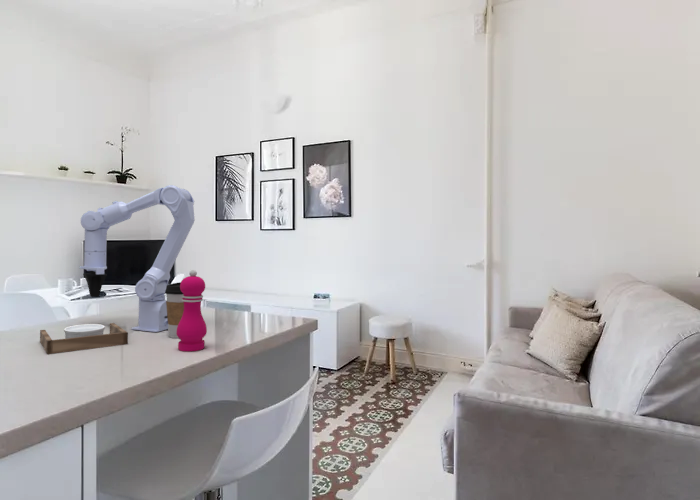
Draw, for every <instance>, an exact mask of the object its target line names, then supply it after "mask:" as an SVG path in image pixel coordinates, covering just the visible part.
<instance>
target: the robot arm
mask: <svg viewBox="0 0 700 500" xmlns="http://www.w3.org/2000/svg"><path fill="white" fill-rule="evenodd" d="M157 205H161V206H165V207H166V208H167V209H168V210H169V211H170V214H171V216H172V218H173V219H174V220H173V223H172V225H171V227H170V229H169V231H168V234H167V236H166V237H165V240H164V241H163V243H162V245H161V247H160V249H159V252H158V254H157V256H156V258H155V259H154V261H153V264H152V266H151V267H150V269H148V270H147V271H146V272H145V273H144V276H143V277H142V278H141V279H140V280H138V282H136V284H135V286H134V293H135V294H136V296H137V297H138V323H137V324H138V325H137V326H133V327H131V330H134V331H142V332H143V331H144V332H151V333H158V332H162V331H165V330H168V318H167V306H166V301H167V299H166V296H165V294H166V293H165V290H166V287H167V285H169V280H170V279H171V274H170V272H171V270H172V268H173V266H174V265H175V262H176V260H177V257H178V256H179V255H180V251H182V247H183V246H184V243H185V242H186V239H187V238H188V236H189V234H190V231H191V230H192V227H193V225H194V223H195V220H196V219H195V208H194V207H195V206H194V205H195V200H194V198H193V195H192V194H191V192H190V191H189V190H187V189H185V188H181V187H178V186H176V185H173V184H169V185H166V186H165V187H159V188H156V189H155V190H153V191H151V192H149V193H147V194H144V195H142V196H139V197H138V198H135V199H133V200H131V201H128V202H124V201H118V200H115V201H113V202H112V203H111V204H110V205H107V206H105V207H99V208H97V210H96V211H95V210H88V211H86V212H85V213H83V214H82V215H81V218H80V224H81V226H82V228H83V229H84V246H83V247H84V248H83V249H84V253H83V255H84V256H83V257H84V258H83V259H84V260H83V265H82V266H81V265H80V266H79V267H78V269H80V270H81V269H82V270H86V271H87V273H83V274H82V275H83V277H84V278H85V281H86V284H87V288H88V292H89V296H90V298H94V297H95V298H97V297H100V295H101V290H102V286H103V284H104V281H105V279H106V278H107V275H108V274H107V273H106V272H105V270H107V269H108V266H107V239H108V238H107V237H108V236H107V235H108V230H109V229H110V227H113V226H115V225H118V224H120V223H122V222H125V221H128V220H129V219H131V217H132V215H133V214H134V213H137V212H140V211H142V210H145V209H148V208H151V207H155V206H157Z"/></svg>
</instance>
